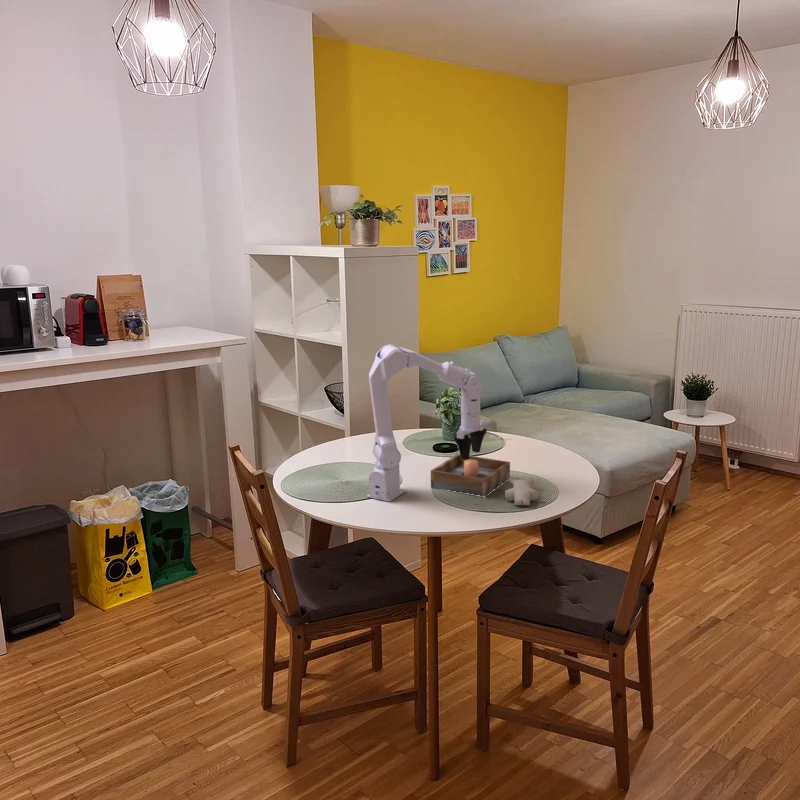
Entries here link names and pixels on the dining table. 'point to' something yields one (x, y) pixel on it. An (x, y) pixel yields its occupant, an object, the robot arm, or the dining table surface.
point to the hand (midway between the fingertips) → (470, 455)
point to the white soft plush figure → (521, 491)
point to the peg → (471, 468)
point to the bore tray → (455, 480)
